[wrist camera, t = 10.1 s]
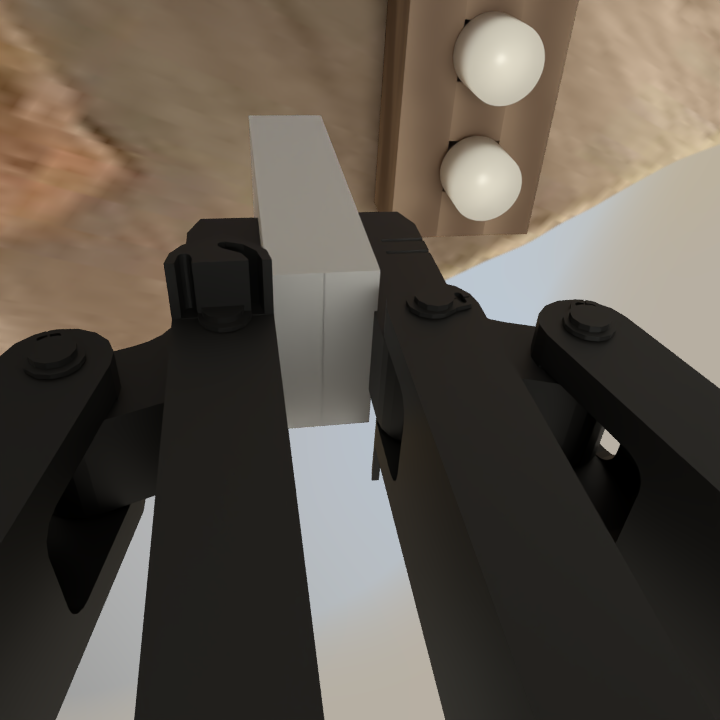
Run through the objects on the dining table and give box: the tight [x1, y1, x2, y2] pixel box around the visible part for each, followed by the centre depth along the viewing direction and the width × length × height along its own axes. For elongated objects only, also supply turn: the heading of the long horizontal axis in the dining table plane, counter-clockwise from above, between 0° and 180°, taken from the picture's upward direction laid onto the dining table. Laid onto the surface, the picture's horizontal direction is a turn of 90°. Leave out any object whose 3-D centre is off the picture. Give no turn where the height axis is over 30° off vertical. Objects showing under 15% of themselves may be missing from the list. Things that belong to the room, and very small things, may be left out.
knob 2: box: [440, 136, 522, 221], centre depth 44 cm, size 4×4×9 cm
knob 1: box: [453, 11, 545, 106], centre depth 40 cm, size 4×4×9 cm
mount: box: [374, 0, 579, 237], centre depth 41 cm, size 10×24×6 cm, turn 177°
